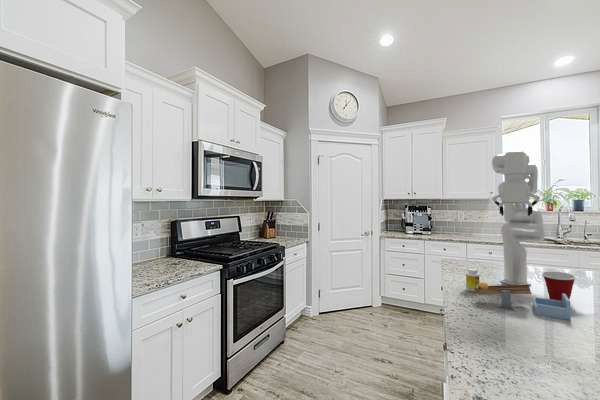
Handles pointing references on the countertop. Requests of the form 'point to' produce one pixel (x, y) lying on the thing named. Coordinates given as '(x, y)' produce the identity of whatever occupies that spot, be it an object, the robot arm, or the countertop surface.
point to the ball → (483, 285)
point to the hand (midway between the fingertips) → (515, 215)
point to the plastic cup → (558, 284)
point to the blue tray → (553, 307)
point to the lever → (497, 289)
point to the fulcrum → (506, 301)
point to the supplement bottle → (472, 280)
